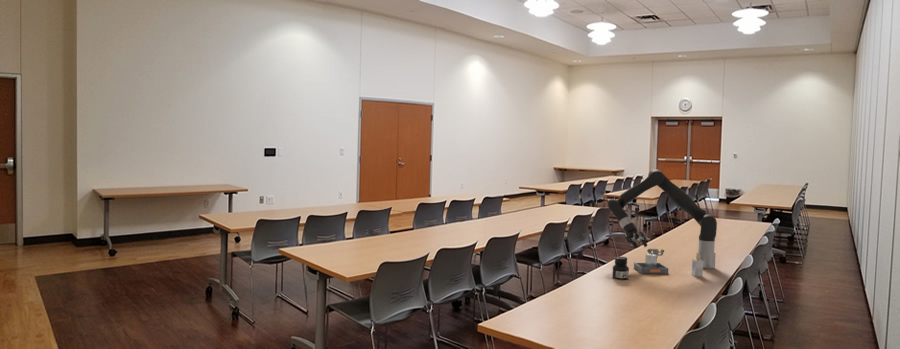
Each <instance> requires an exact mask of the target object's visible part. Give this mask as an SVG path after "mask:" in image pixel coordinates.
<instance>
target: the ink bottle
mask: <svg viewBox="0 0 900 349" xmlns="http://www.w3.org/2000/svg"><path fill="white" fill-rule="evenodd" d="M629 269H630V267H629V266H628V257H625V256H615V257H614V264H613V265H612V275H611V276H612V278H613V279H615V280H619V281H620V280H622V281H623V280H624V281H625V280H628V279H629V277H630V274H629Z"/></svg>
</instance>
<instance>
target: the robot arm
mask: <svg viewBox="0 0 900 349" xmlns="http://www.w3.org/2000/svg"><path fill="white" fill-rule="evenodd" d="M647 174H648V176H647V177H646V178H645V179H643V180H642V181H641V182H639V183H638V184H636V185H634V186H632V187H630V188H628V189H627V190H625V191H623V192H622V193H621V194H620V196H619V198H618V199H615V198H611V199H609V201H608V203H607V206H608V208H609V210H610V211H611V212H612V214H613V215H614V216H615V218H616V220H617V222H618V223H619V225H620V227H621V228H622V230H623V232H624V233H625V234H624V238H625V239H626V241H627V243H628V244H631V245H632V246H633V247H634V248H635V249H637V248H638V247H639V245H638V244H637V242H636V240H637V241H640V242H641V244H642V245H643V247H644V248H646V247H647V246H648V243H647V241H646V240H647V237H646V235H645V234H644V233H643V232H642V231H639V232H638V228H637V226H636V225H635V223H634V222H633V219H631V218H630V216H629V215H628V214H627V212H626V211H625V210H624V208H625V207H626V206H627V204H629V203H631V202H632V201H633V200H635V199H636V198H638V197H639V196H640V195H642V194H643V193H645V192H647V191H648V190H650V189H652V188H655V187H658V188H660V189H661V190H662V192H664V194H666V196H667V197H668V198H669V199H670V200H671V201H672V202H673V203H674V204H675V205H676V206H677V207H679V208H680V209H681V210H682V211H684V212H685V213H687V214H688V215H689V216H690V217H691V218H693V219H694V220H695V222H696V223H697V224H698V225H699V226H700V232H699V235H698V248H697V251H698V252H697V253H700V259H701V260H703V269H706V270H707V269H709V270H710V269H715V268H716V257H717V256H716V255H717V254H716V252H715V244H716V243H715V242H716V238H717V231H718V230H717V227H718V225H717V224H718V222H717V219H716V218H715V217H714V216H713V215H710V214H709V213H707V212H706V211H704V210H703V209H702V208H701V207H699V205H698V204H697V203H696V202H695V200H694V199H693V198H692V197H691V196H690V195H689V194H688V193H686V192H685V191H684V190H683V189H682V188H680V186H678V185H676V184H674V183H673V182H672V181H671V180H670V179H669V178H668V176H666V175H665V174H664V173H663V171H662V170H660V169H656V168H654V169H651V170H650V171H649V172H648V173H647Z"/></svg>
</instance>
